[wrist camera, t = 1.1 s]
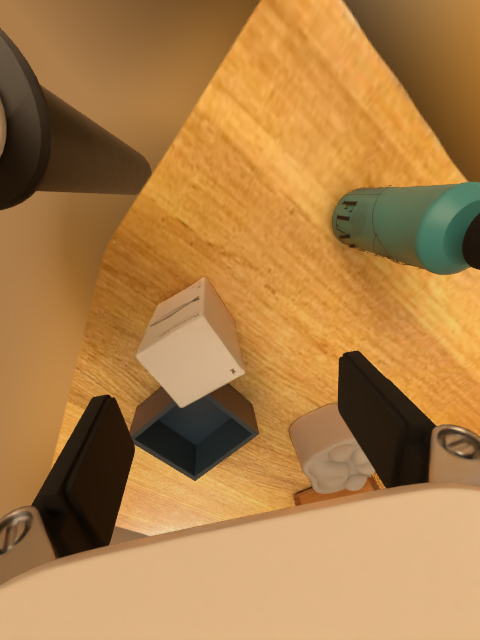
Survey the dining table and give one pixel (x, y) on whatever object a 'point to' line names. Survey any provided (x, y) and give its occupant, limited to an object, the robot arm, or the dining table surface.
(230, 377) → the white packaging box
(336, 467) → the lumpy-topped squat cylinder
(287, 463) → the dining table surface
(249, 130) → the dining table surface
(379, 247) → the beverage bottle
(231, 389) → the dark grey storage bin
